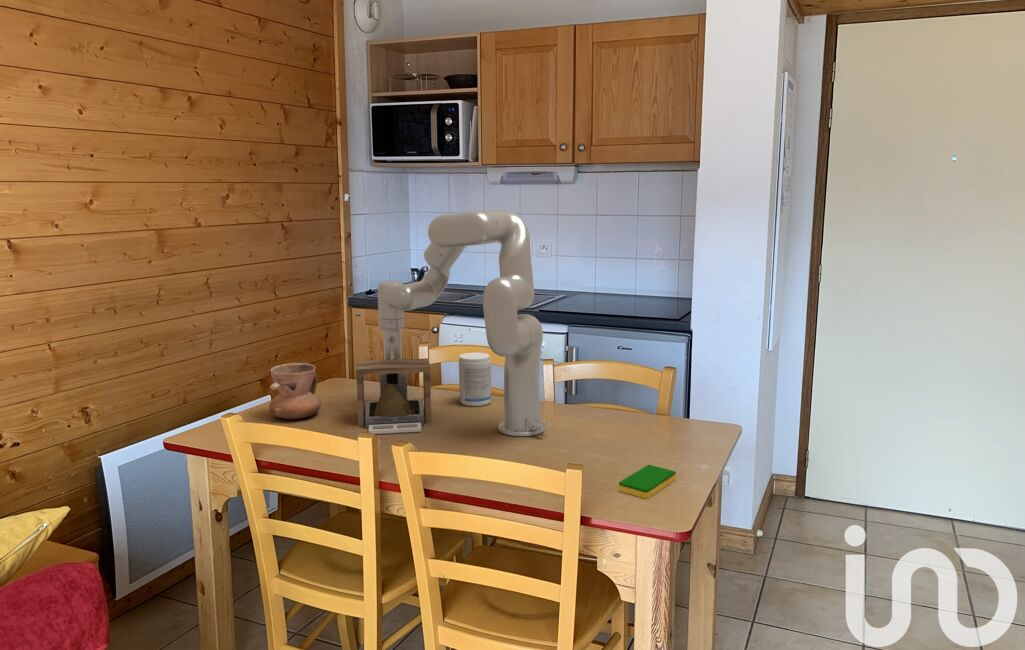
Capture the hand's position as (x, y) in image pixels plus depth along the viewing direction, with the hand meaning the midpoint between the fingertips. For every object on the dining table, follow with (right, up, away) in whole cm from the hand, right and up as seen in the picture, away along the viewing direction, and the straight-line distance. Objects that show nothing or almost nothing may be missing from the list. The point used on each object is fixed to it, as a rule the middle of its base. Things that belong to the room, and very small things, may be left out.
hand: (392, 383), depth 233 cm
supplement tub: (+25, -6, +4) cm, 26 cm away
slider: (+2, -8, -7) cm, 11 cm away
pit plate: (+4, -11, -22) cm, 25 cm away
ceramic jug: (-26, -9, -8) cm, 29 cm away
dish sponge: (+66, -19, -59) cm, 90 cm away
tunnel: (+2, -9, -12) cm, 15 cm away
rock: (+2, -9, -12) cm, 15 cm away
